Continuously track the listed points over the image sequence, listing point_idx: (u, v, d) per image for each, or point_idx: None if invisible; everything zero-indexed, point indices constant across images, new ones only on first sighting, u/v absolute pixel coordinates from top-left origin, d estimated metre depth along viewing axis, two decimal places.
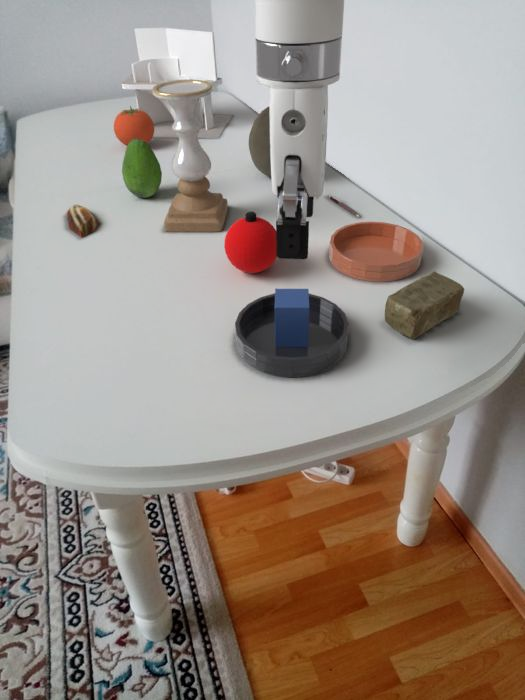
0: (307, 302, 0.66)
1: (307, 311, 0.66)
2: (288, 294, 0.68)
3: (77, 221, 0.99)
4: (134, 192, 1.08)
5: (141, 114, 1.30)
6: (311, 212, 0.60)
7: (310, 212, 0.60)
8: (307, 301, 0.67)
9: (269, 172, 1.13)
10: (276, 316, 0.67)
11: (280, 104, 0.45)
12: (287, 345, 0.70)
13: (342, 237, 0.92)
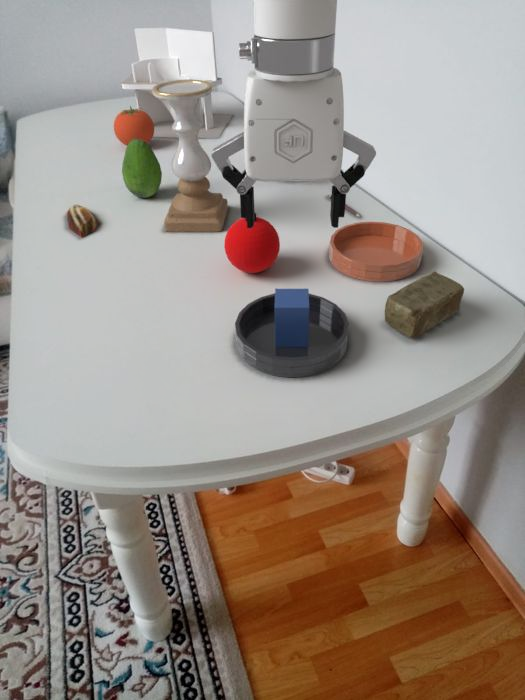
0: (307, 302, 0.66)
1: (307, 311, 0.66)
2: (288, 294, 0.68)
3: (77, 221, 0.99)
4: (134, 192, 1.08)
5: (141, 114, 1.30)
6: (332, 223, 0.58)
7: (332, 222, 0.58)
8: (307, 301, 0.67)
9: None
10: (276, 316, 0.67)
11: None
12: (287, 345, 0.70)
13: (342, 237, 0.92)
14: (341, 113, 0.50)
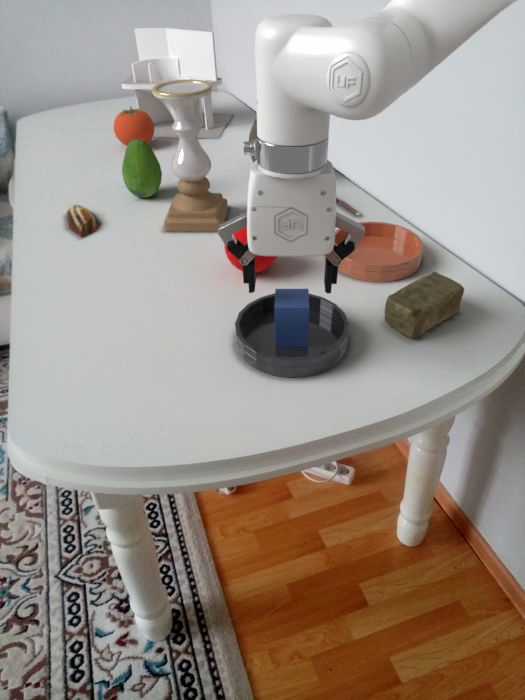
0: (307, 302, 0.66)
1: (307, 311, 0.66)
2: (288, 294, 0.68)
3: (77, 221, 0.99)
4: (134, 192, 1.08)
5: (141, 114, 1.30)
6: (326, 289, 0.65)
7: (325, 289, 0.65)
8: (307, 301, 0.67)
9: None
10: (276, 316, 0.67)
11: None
12: (287, 345, 0.70)
13: (342, 237, 0.92)
14: (333, 202, 0.57)
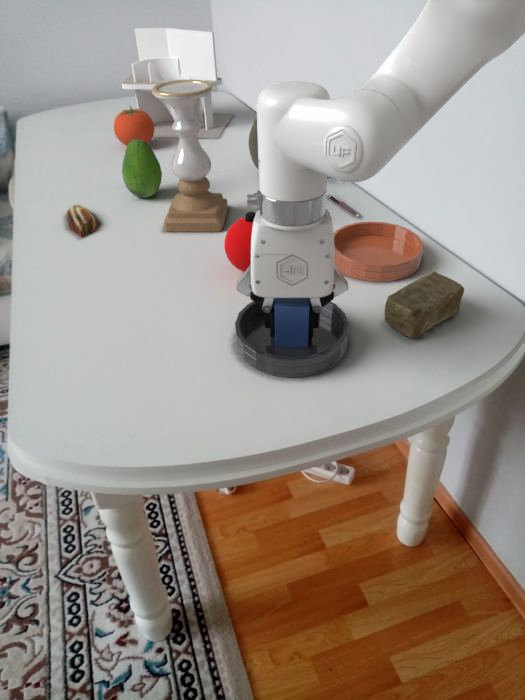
0: (307, 302, 0.66)
1: (307, 311, 0.66)
2: None
3: (77, 221, 0.99)
4: (134, 192, 1.08)
5: (141, 114, 1.30)
6: (308, 333, 0.69)
7: (308, 333, 0.69)
8: (307, 301, 0.67)
9: None
10: (276, 316, 0.67)
11: None
12: (287, 345, 0.70)
13: (342, 237, 0.92)
14: (332, 249, 0.60)
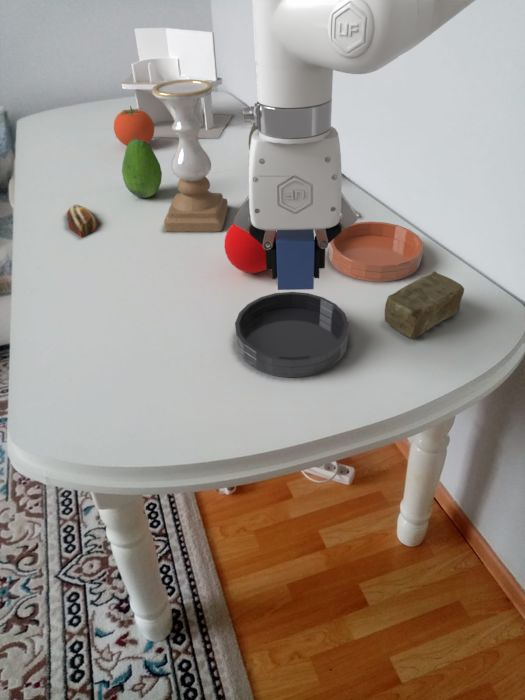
0: (312, 236, 0.60)
1: (312, 246, 0.60)
2: (290, 230, 0.62)
3: (77, 221, 0.99)
4: (134, 192, 1.08)
5: (141, 114, 1.30)
6: (314, 274, 0.63)
7: None
8: (312, 236, 0.60)
9: None
10: (278, 253, 0.61)
11: None
12: (290, 287, 0.63)
13: (342, 237, 0.92)
14: (339, 169, 0.54)
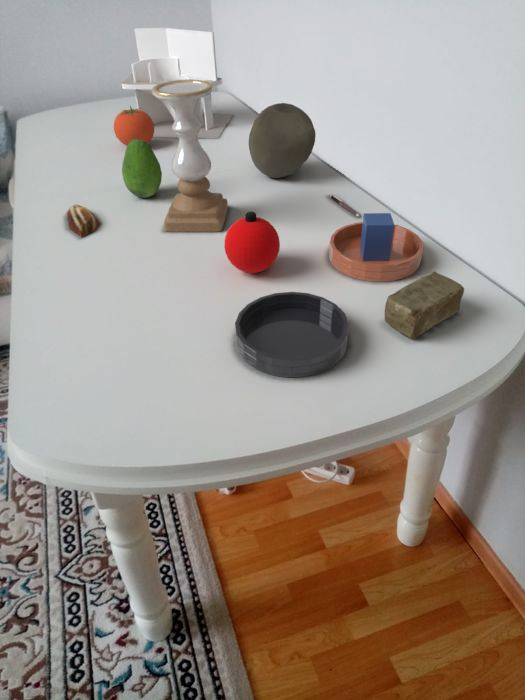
0: (392, 221, 0.83)
1: (392, 228, 0.83)
2: (375, 217, 0.85)
3: (77, 221, 0.99)
4: (134, 192, 1.08)
5: (141, 114, 1.30)
6: None
7: None
8: (392, 221, 0.83)
9: (269, 172, 1.13)
10: (367, 233, 0.83)
11: None
12: (372, 259, 0.86)
13: (342, 237, 0.92)
14: None
